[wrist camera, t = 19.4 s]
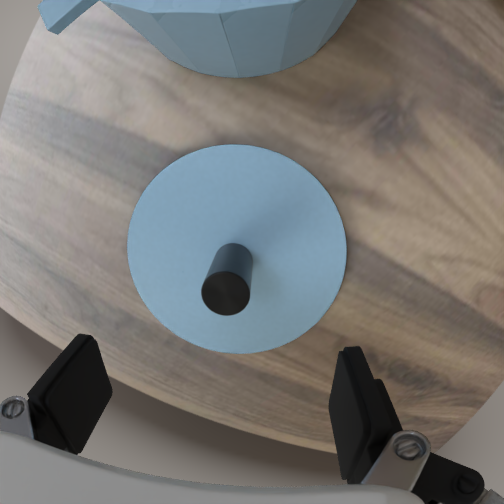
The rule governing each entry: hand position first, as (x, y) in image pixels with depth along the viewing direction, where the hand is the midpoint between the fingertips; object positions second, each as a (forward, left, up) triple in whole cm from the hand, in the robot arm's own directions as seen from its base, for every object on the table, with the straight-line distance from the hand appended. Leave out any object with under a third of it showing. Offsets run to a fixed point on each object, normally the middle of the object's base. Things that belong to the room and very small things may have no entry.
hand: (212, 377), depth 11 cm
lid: (0, 0, -13) cm, 13 cm away
